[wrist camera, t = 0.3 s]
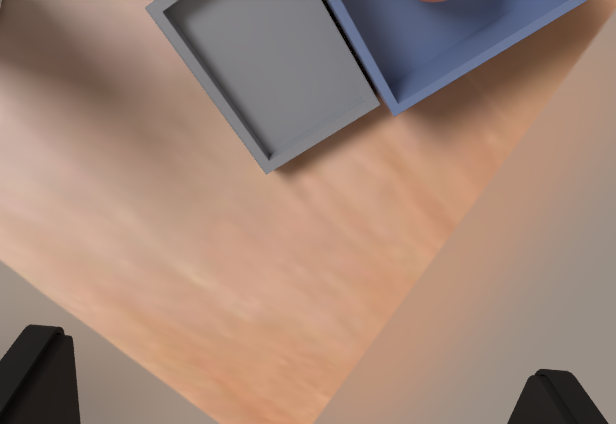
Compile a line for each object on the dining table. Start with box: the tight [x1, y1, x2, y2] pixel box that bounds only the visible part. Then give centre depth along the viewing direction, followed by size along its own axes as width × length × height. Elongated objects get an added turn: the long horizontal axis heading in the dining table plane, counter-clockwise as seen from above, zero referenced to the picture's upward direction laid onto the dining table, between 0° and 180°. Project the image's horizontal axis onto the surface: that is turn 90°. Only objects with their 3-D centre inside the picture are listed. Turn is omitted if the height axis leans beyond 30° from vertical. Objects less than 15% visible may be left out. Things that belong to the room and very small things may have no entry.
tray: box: [145, 0, 380, 175], centre depth 34 cm, size 10×14×2 cm
